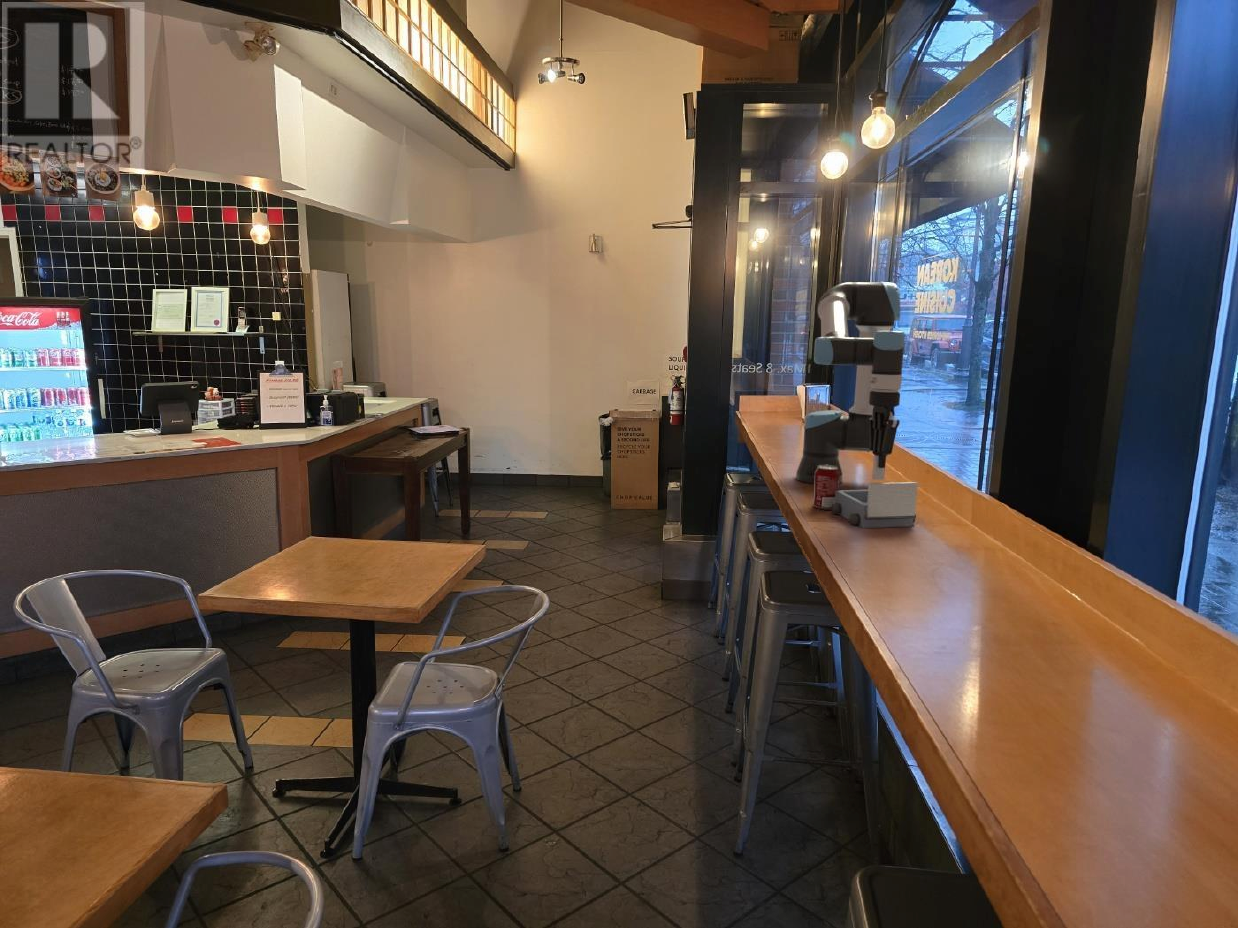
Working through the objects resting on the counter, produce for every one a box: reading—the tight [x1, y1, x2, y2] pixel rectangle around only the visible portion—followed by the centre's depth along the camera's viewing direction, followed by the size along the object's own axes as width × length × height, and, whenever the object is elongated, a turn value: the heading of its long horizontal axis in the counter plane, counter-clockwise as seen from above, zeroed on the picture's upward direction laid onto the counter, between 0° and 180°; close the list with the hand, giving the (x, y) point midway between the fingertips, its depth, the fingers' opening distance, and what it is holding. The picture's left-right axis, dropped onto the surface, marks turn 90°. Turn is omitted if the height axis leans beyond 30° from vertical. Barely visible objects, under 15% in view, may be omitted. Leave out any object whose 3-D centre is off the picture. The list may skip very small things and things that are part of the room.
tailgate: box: [865, 481, 919, 520], centre depth 191 cm, size 1×14×10 cm, turn 99°
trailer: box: [830, 489, 917, 529], centre depth 201 cm, size 17×17×6 cm
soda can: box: [812, 465, 840, 511], centre depth 211 cm, size 7×7×12 cm
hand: (878, 478), depth 198 cm, fingers closed
